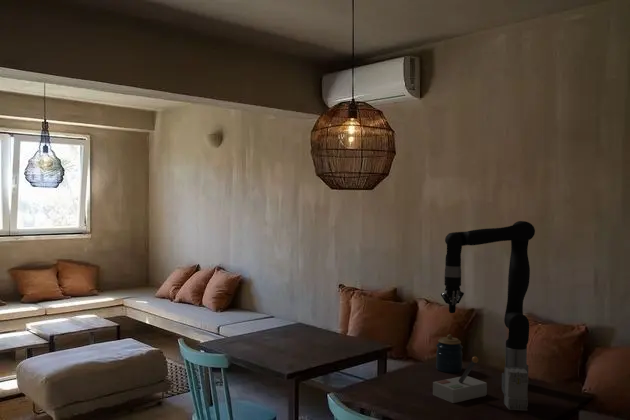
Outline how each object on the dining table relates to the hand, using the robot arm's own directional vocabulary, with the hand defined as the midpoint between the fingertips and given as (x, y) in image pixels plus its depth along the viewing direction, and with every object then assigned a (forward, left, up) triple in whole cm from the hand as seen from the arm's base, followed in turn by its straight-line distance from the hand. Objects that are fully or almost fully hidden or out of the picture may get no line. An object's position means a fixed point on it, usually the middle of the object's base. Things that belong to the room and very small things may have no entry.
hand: (452, 312), depth 266 cm
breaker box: (+4, +19, -32) cm, 37 cm away
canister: (-7, -19, -32) cm, 38 cm away
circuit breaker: (-14, +32, -32) cm, 47 cm away
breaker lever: (+4, +19, -26) cm, 33 cm away
